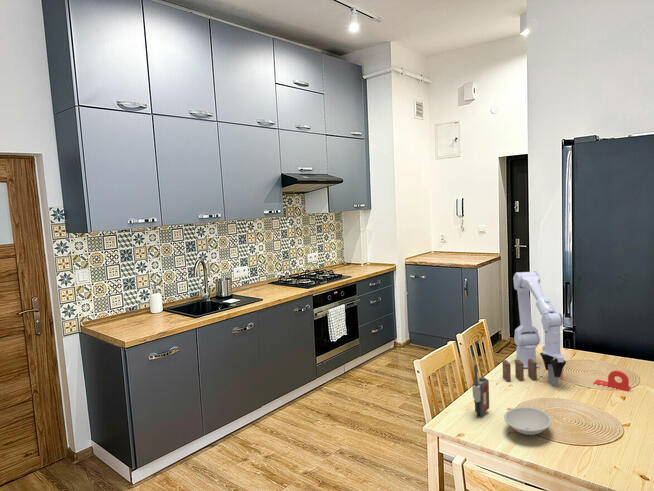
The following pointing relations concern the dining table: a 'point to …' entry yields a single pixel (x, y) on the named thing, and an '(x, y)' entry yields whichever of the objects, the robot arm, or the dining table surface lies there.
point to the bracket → (612, 383)
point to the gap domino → (552, 376)
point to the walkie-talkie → (480, 393)
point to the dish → (527, 420)
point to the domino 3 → (561, 373)
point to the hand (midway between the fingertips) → (552, 373)
